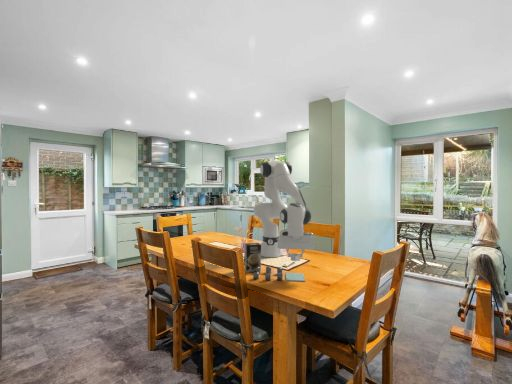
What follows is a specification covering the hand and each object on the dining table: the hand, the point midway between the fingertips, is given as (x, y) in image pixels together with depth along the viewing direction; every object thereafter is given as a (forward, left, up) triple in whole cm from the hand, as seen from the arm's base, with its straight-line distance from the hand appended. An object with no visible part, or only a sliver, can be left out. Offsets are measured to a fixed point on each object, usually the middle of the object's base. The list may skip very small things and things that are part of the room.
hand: (295, 256), depth 147 cm
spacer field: (0, -15, -12) cm, 19 cm away
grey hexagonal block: (0, 0, -2) cm, 2 cm away
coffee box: (-10, -25, -12) cm, 29 cm away
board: (0, 0, -12) cm, 12 cm away
